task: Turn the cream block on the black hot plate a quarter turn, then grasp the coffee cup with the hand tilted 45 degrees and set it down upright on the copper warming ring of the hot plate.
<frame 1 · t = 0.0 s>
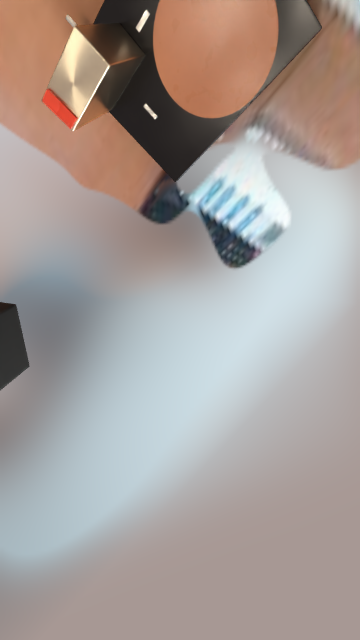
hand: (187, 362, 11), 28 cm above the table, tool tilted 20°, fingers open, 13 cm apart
cream block: (95, 76, 24), point 6 cm above the table, hinge at 0.0°
warming ring: (213, 44, 24), resting on hotplate
hotplate: (189, 49, 26), on the table
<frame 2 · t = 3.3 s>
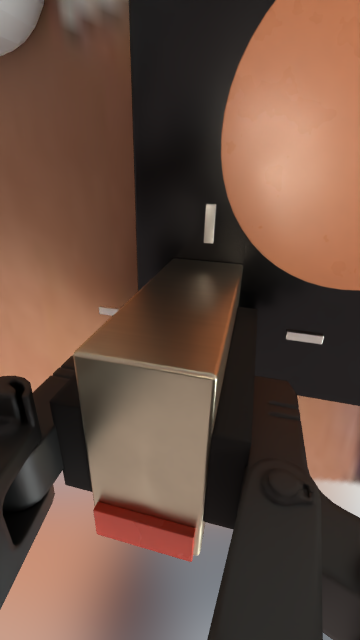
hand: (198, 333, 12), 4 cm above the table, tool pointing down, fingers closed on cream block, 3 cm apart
cream block: (182, 374, 10), point 6 cm above the table, hinge at 0.0°, touching gripper
hotplate: (305, 199, 13), on the table
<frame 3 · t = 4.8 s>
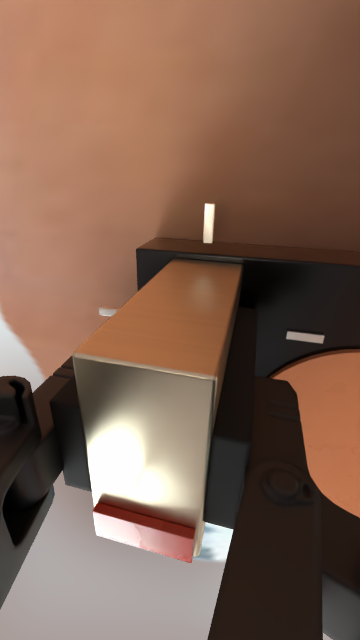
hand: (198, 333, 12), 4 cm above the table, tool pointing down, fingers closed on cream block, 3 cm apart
cream block: (182, 374, 10), point 6 cm above the table, hinge at 89.5°, touching gripper
warming ring: (349, 440, 14), resting on hotplate
hotplate: (303, 374, 16), on the table
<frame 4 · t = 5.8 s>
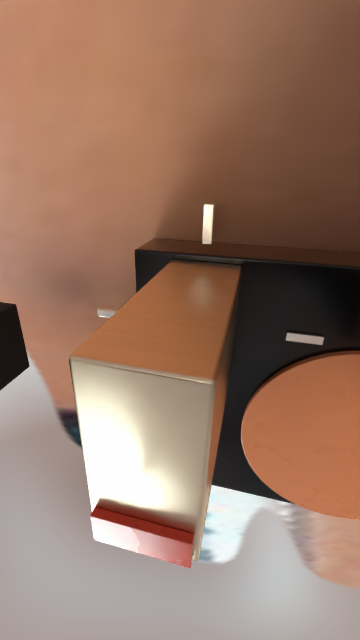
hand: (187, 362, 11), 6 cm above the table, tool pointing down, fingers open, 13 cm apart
cream block: (180, 377, 10), point 6 cm above the table, hinge at 89.5°
warming ring: (348, 442, 14), resting on hotplate
hotplate: (302, 376, 16), on the table
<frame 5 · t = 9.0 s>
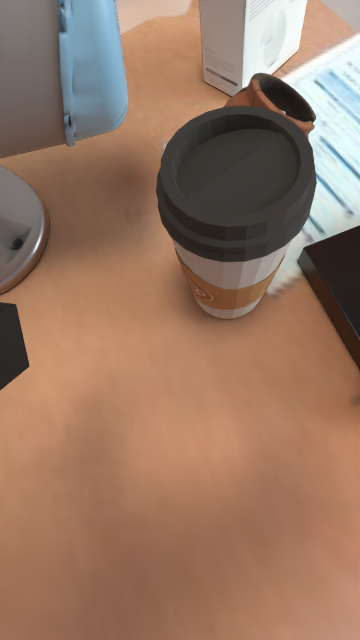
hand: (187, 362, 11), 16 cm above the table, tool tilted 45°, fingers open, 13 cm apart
pottery mug: (251, 167, 33), on the table
cosmetics box: (249, 67, 38), on the table
coffee cup: (227, 289, 29), on the table
when the fingers open (8 cm above the table, at t = 22.1 s): coffee cup stays where it is, resting on warming ring.
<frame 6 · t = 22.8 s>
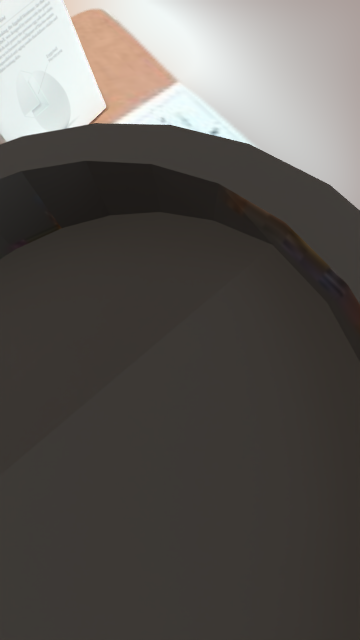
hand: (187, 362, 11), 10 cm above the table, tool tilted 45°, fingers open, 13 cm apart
cosmetics box: (52, 132, 31), on the table
coffee cup: (197, 436, 17), point 3 cm above the table, touching warming ring
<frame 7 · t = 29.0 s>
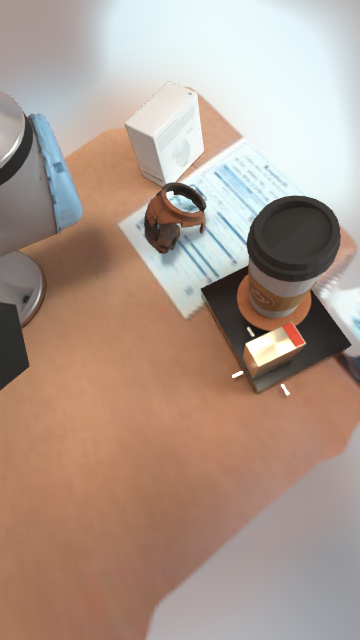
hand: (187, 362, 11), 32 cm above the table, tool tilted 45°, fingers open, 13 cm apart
pottery mug: (174, 235, 51), on the table
cosmetics box: (172, 164, 56), on the table
cream block: (271, 352, 35), point 6 cm above the table, hinge at 89.5°
coffee cup: (273, 298, 42), point 3 cm above the table, touching warming ring
warming ring: (273, 297, 42), resting on hotplate
hotplate: (268, 321, 43), on the table
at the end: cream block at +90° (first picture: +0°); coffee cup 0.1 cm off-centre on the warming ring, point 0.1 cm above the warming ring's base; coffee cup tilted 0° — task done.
